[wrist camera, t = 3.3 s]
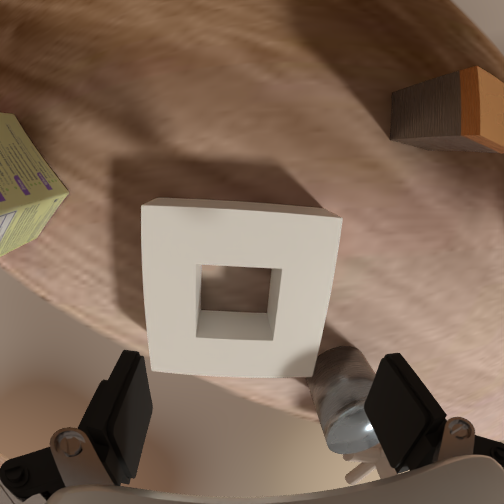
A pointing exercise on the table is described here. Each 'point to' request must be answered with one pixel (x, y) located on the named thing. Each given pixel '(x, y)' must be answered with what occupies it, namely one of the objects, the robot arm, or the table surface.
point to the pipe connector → (369, 464)
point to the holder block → (242, 255)
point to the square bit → (451, 113)
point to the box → (24, 187)
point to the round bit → (343, 399)
